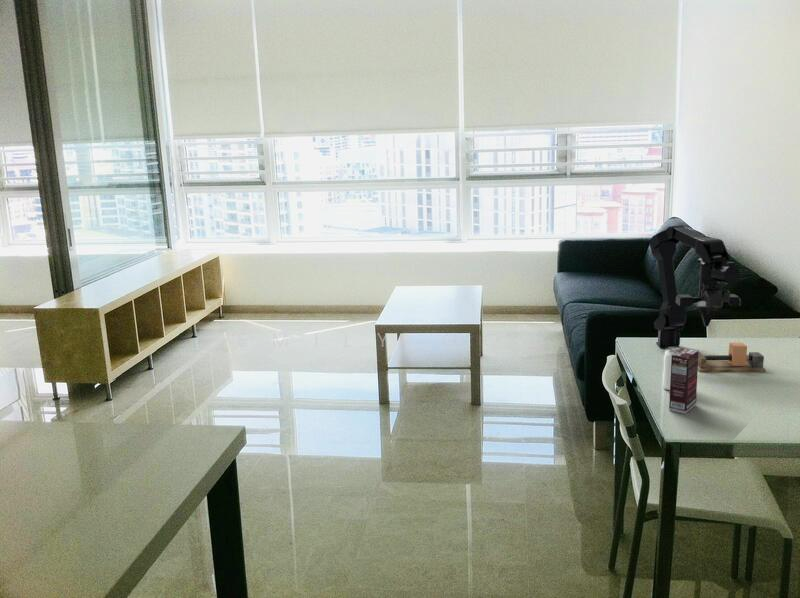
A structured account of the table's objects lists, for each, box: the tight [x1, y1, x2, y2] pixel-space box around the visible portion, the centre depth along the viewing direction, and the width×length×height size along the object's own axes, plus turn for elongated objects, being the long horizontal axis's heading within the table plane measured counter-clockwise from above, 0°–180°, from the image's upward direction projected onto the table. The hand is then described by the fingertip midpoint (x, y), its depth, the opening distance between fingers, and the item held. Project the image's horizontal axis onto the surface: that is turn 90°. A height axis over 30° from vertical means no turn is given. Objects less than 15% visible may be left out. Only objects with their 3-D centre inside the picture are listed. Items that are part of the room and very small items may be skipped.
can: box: [662, 346, 683, 392], centre depth 220 cm, size 6×6×12 cm
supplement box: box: [668, 347, 700, 415], centre depth 204 cm, size 9×5×16 cm, turn 141°
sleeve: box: [727, 342, 748, 366], centre depth 237 cm, size 4×4×6 cm
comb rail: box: [697, 351, 767, 373], centre depth 238 cm, size 20×9×4 cm, turn 85°
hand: (706, 326), depth 242 cm, fingers closed
